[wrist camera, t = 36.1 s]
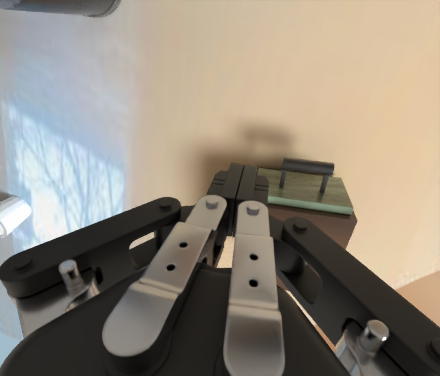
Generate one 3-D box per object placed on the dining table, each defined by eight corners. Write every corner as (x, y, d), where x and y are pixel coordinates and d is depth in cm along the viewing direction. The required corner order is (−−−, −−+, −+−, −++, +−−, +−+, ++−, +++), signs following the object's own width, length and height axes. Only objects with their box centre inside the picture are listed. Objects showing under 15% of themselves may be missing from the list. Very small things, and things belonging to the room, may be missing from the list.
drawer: (262, 141, 38) (258, 164, 32) (350, 151, 36) (365, 178, 30) (249, 235, 48) (244, 267, 42) (317, 246, 47) (324, 282, 40)
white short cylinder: (36, 206, 58) (9, 226, 52) (30, 222, 61) (4, 243, 55) (8, 188, 56) (-24, 206, 50) (3, 206, 60) (-27, 225, 54)
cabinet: (254, 171, 42) (248, 204, 34) (341, 182, 40) (357, 220, 32) (245, 240, 51) (239, 281, 42) (317, 252, 49) (325, 297, 40)
